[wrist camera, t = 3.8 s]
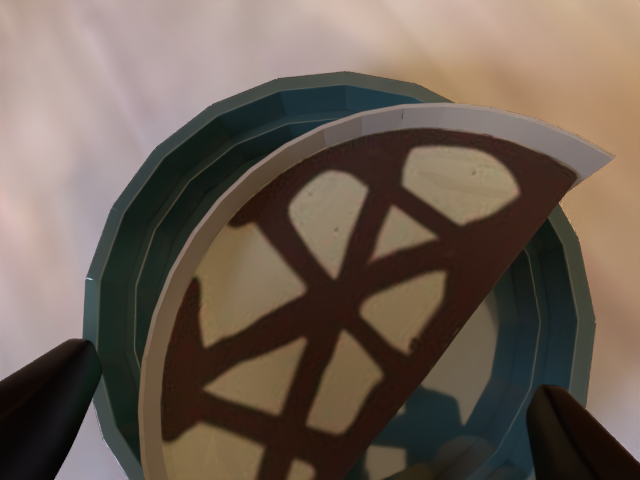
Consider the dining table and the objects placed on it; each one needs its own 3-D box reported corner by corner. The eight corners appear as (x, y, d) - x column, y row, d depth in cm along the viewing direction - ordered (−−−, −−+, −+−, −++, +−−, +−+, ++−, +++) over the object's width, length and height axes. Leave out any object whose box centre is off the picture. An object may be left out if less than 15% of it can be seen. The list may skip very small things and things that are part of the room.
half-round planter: (367, 157, 19) (385, -22, 10) (479, 241, 18) (632, 135, 8) (181, 371, 18) (-23, 419, 8) (291, 478, 17) (207, 685, 7)
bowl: (407, 632, 16) (427, 732, 12) (61, 370, 18) (-16, 380, 15) (609, 241, 18) (681, 216, 14) (276, 64, 21) (259, 3, 17)
